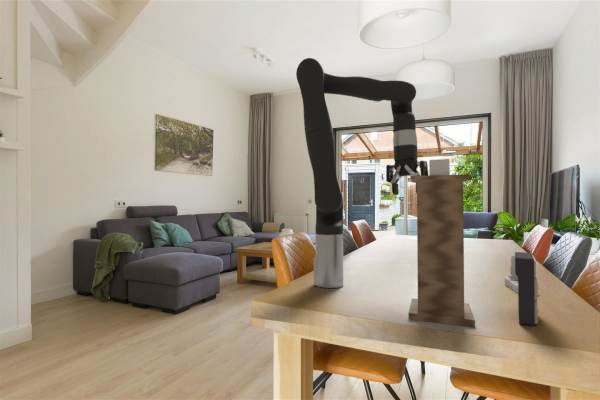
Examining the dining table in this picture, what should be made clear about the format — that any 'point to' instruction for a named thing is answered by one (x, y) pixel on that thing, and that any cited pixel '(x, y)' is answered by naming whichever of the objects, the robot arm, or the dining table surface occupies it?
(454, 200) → the wooden pedestal stand
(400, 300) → the dining table surface
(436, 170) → the white cylinder with crossbar
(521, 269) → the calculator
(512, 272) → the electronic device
